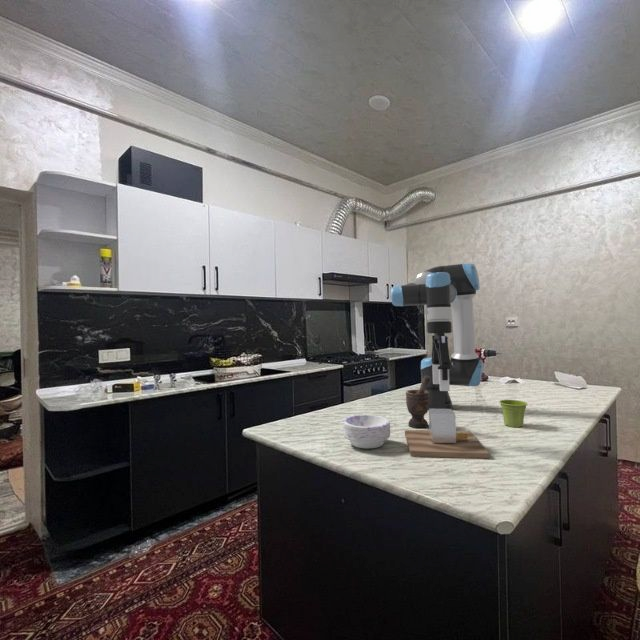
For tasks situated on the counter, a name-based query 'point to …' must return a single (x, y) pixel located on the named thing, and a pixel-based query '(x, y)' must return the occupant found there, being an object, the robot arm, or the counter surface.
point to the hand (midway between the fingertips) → (440, 387)
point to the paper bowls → (366, 430)
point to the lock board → (444, 446)
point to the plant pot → (513, 412)
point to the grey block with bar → (443, 426)
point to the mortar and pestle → (418, 404)
